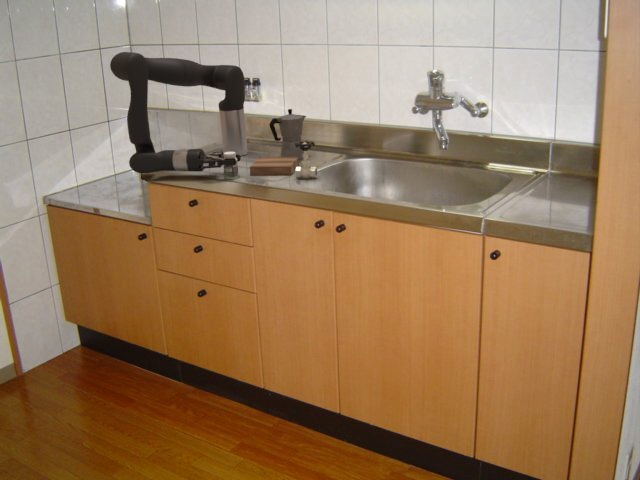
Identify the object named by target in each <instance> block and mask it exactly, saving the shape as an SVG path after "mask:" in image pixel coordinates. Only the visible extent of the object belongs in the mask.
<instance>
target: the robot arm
mask: <svg viewBox="0 0 640 480" xmlns="http://www.w3.org/2000/svg"><path fill="white" fill-rule="evenodd" d="M109 66H110V67H109V68H110V71H111V72H112V75H114V76H115V77H116V78H117V79H118V80H122V81H125V82H126V81H127V82H128V85H129V89H130V100H129V101H130V102H129V106H128V110H127V111H128V112H127V115H126V125H127V131H128V139H129V142H130V144H132V145H134V148H135V153H133V154H132V155H131V156H130V157H129V160H128V164H129V167H130V168H131V170H132V171H133V172H135V173H137V174H150V173H157V172H163V171H165V172H203V171H204V170H206V169H215V168H216V169H217V168H219V169H220V168H222V167H224V166H225V165H236V159H235V158H225V160H224V153H225V152H235V153H236V158H237V162H240V161H241V157H242V156H245V155H247V154H248V145H247V144H248V143H247V130H246V119H245V106H244V104H245V100H246V99H245V98H246V89H245V88H246V87H245V86H246V85H245V82H246V81H245V75H244V72H243V70H242V68H241V67H239V66H237V65H233V64H232V65H230V64H219V65H218V64H215V65H210V64H209V65H208V64H205V65H204V64H201V63H198V62H196V61H194V60H190V59H186V58H177V57H175V58H173V57H145V56H144V55H142V54H141V53H138V52H132V51H131V52H129V51H122V52H119V53H116V54H115V55H114V56H113V57H112V58H111V60H110V64H109ZM149 81H151V82H155V83H160V84H165V85H171V86H176V87H177V86H178V87H185V88H186V87H188V88H189V87H197V86H203V87H208V88H213V89H217V90H220V91H224V95H225V96H224V99H223V100H220V101H219V102H218V111H219V122H220V132H221V133H220V134H221V145H222V152H220V151H214V152H209V153H208V154H206V153H205V151H204V150H203V149H202V148H183V149H182V148H181V149H165V150H161V151H158V152H156V150H155V147H154V144H153V141H152V138H151V131H150V123H149V121H150V120H149V111H148V98H149V97H148V96H149V95H148V93H149V91H148V90H149Z"/></svg>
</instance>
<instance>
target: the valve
mask: <svg viewBox="0 0 640 480" xmlns="http://www.w3.org/2000/svg"><path fill="white" fill-rule="evenodd" d="M315 145H316V144H315V142H314V141H313V140H310V141H309V140H304V141H302V140H301V141H299V142H295V146H296V147H299V146H300V149H301V150H302V151H304V153H303V154H302V156H303V158H304V159H302V161H301V162H300V165H301V166H298V167H296V170H295V171H294V173H295V178H296V179H305V180H308V179H310V178H311V179H317V177H318V168H317V167H316V166H310V165H311V161H310V160H309V153H308V151H309V150H311V149H312V147H315Z"/></svg>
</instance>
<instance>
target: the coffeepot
mask: <svg viewBox="0 0 640 480" xmlns="http://www.w3.org/2000/svg"><path fill="white" fill-rule="evenodd" d="M287 113H288V114H285V115H282V116H278V117H274V118H272V119H271V121H270V122H269V124H268V125H269V128H270V131H271V133H272V136H273V138H274V141H275V142H279V141H281V139H282V141H281V149H280V157H298V160H299V161H301V160H302V161H303V159H304V158H303V156H302V154H303V153H304V151H302V150H301V149H300V146H299V147H296V146H295V142H299V141H302V135H303V124H304V120H305V119H306V118H307V115H302V114H294V113H293V109H292V108H291V109H290V108H289V109H287ZM275 124H278V126H279V130H280V135H281V137H282V138H281V137H278V133H277V131H276V127H275Z"/></svg>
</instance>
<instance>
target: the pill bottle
mask: <svg viewBox="0 0 640 480" xmlns="http://www.w3.org/2000/svg"><path fill="white" fill-rule="evenodd" d="M225 158H235V159H236V165H225V166H223V174H224V178H225V179H227V180H233V179H237V178H239V175H240V174H239V164H238V161H237V158H236V153H235V152H225V153H224V160H225Z"/></svg>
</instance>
